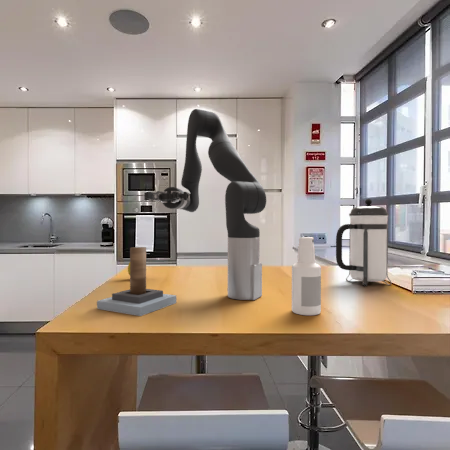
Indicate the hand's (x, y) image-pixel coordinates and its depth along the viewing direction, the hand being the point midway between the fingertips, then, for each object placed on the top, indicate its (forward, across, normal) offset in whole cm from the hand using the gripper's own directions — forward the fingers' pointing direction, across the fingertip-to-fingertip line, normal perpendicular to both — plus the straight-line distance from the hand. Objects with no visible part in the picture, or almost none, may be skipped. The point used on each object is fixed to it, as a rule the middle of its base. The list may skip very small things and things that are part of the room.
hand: (160, 194), depth 102 cm
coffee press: (-23, +67, +30) cm, 77 cm away
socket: (+17, 0, +30) cm, 35 cm away
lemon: (-21, -17, +30) cm, 40 cm away
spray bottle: (+18, +42, +30) cm, 55 cm away
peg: (+17, 0, +30) cm, 34 cm away
